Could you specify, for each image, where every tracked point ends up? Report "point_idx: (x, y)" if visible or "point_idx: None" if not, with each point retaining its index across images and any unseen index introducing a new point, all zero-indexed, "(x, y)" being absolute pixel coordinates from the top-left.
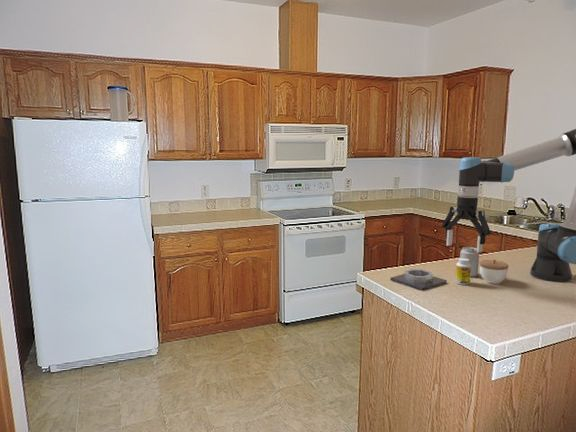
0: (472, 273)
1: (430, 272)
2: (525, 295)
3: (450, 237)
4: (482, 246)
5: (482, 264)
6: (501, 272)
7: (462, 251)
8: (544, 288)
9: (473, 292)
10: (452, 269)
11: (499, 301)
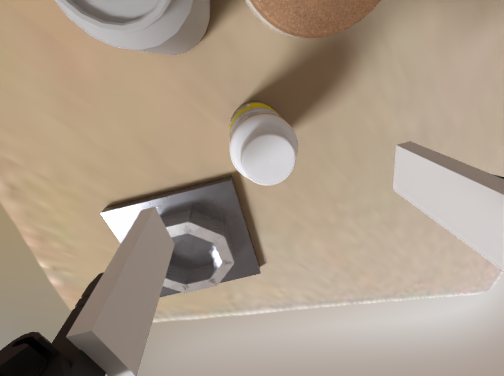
0: (207, 20)
1: (192, 227)
2: (469, 3)
3: (147, 273)
4: (444, 159)
5: (300, 34)
6: None
7: (112, 39)
8: None
9: (337, 160)
10: (54, 9)
11: (424, 146)
